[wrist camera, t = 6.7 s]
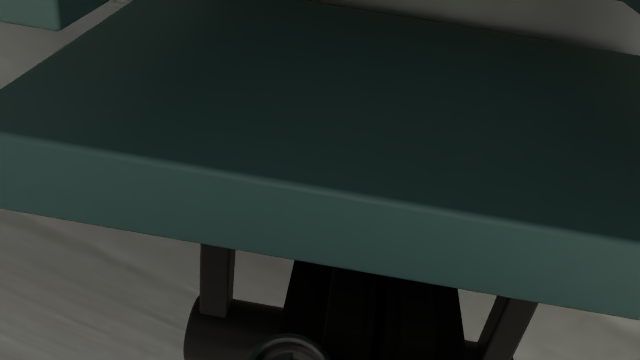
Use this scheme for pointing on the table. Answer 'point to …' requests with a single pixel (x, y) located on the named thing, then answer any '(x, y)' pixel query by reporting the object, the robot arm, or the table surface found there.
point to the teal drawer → (336, 153)
